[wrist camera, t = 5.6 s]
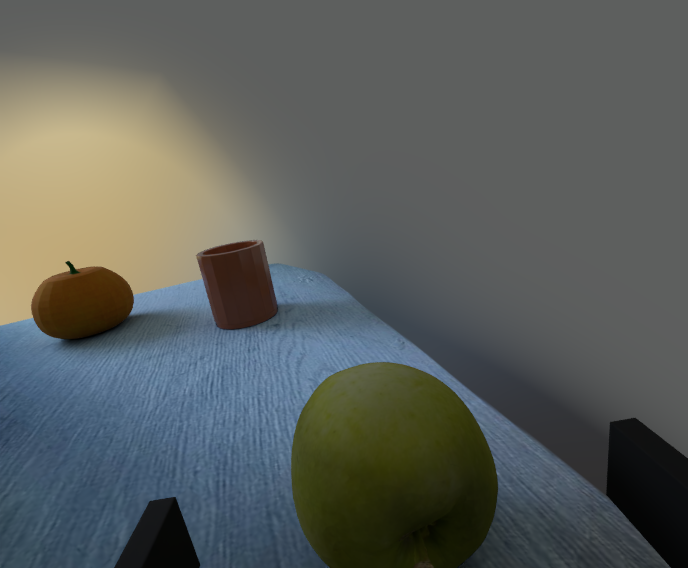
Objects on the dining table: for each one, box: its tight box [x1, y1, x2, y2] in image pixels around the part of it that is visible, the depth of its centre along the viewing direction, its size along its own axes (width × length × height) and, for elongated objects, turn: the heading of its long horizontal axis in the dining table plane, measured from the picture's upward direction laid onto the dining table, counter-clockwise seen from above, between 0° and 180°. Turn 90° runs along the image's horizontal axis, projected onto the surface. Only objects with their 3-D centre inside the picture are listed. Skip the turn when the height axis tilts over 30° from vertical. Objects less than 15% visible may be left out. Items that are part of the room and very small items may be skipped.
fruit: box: [31, 261, 134, 339], centre depth 51 cm, size 12×12×10 cm
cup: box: [197, 240, 278, 329], centre depth 46 cm, size 8×8×9 cm
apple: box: [291, 362, 498, 568], centre depth 15 cm, size 8×9×8 cm
